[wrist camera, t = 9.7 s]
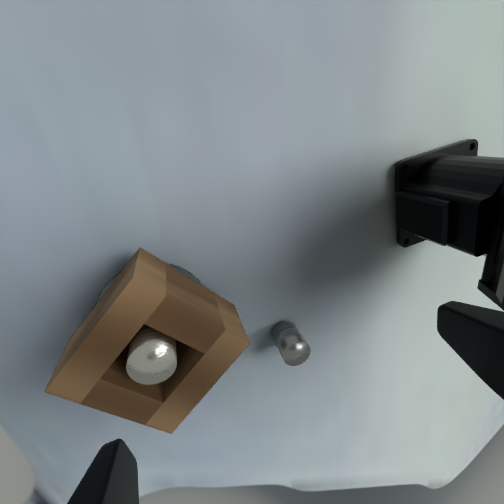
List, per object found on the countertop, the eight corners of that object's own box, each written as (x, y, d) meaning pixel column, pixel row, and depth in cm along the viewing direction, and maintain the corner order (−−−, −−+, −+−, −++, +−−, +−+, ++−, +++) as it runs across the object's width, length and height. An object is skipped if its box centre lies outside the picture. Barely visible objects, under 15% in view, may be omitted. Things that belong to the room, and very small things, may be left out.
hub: (190, 247, 18) (197, 283, 14) (221, 333, 21) (236, 386, 17) (74, 285, 17) (42, 337, 13) (123, 370, 20) (111, 437, 16)
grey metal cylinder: (293, 317, 22) (308, 337, 20) (298, 337, 23) (312, 359, 21) (269, 327, 22) (281, 348, 20) (274, 347, 23) (286, 369, 21)
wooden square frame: (139, 247, 16) (132, 278, 13) (234, 305, 19) (249, 343, 16) (69, 338, 17) (44, 391, 14) (170, 380, 20) (171, 433, 17)
